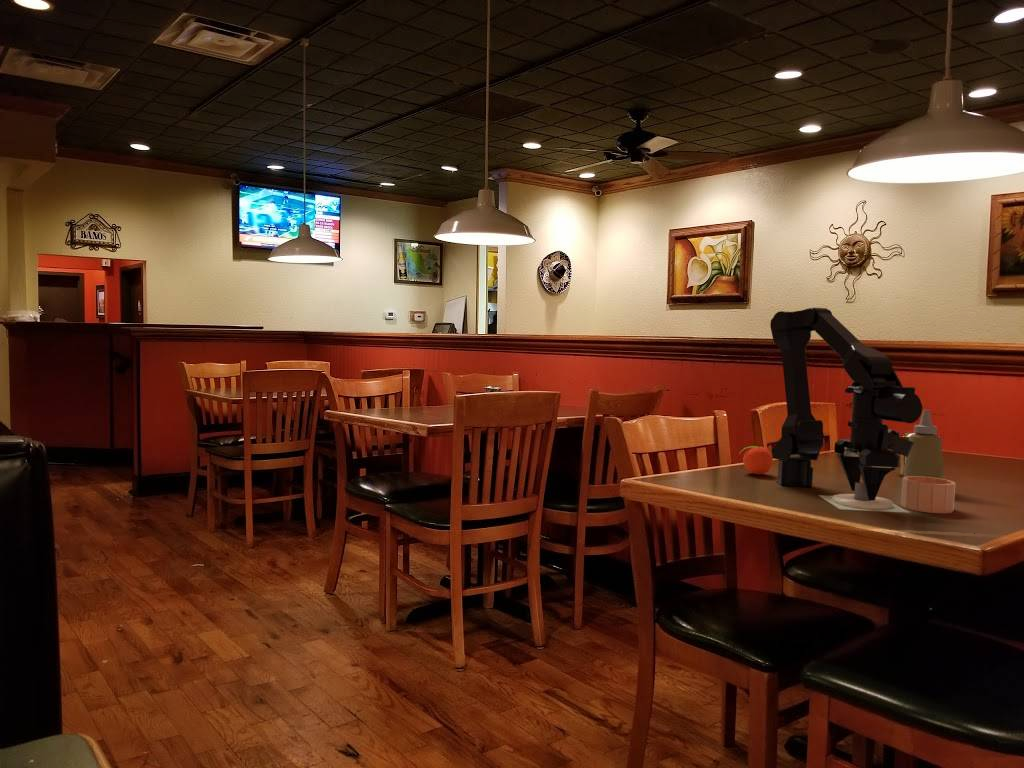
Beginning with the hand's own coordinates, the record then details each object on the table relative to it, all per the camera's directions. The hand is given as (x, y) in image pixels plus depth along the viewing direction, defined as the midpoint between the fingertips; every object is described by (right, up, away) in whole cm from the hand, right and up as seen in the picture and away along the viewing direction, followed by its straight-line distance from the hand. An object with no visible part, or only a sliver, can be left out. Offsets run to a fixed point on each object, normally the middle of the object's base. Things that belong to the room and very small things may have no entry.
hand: (862, 495), depth 154 cm
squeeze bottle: (+23, -2, +21) cm, 32 cm away
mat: (0, -2, 0) cm, 2 cm away
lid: (0, -2, 0) cm, 2 cm away
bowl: (+12, -3, -2) cm, 12 cm away
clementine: (-11, 0, +34) cm, 36 cm away
